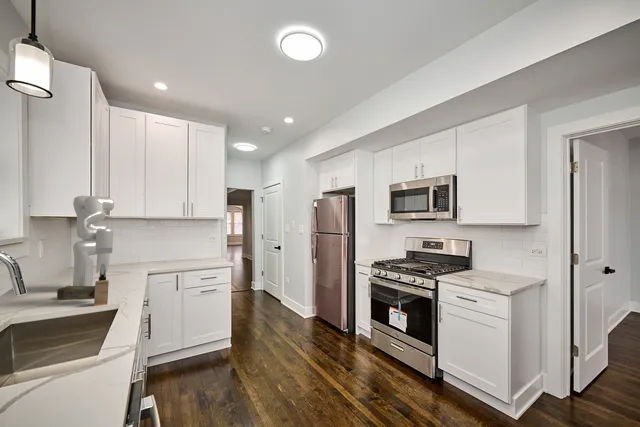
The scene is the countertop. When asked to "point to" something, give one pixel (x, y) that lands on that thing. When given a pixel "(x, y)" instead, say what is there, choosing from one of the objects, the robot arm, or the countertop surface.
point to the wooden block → (101, 293)
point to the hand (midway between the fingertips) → (102, 284)
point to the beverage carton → (76, 292)
